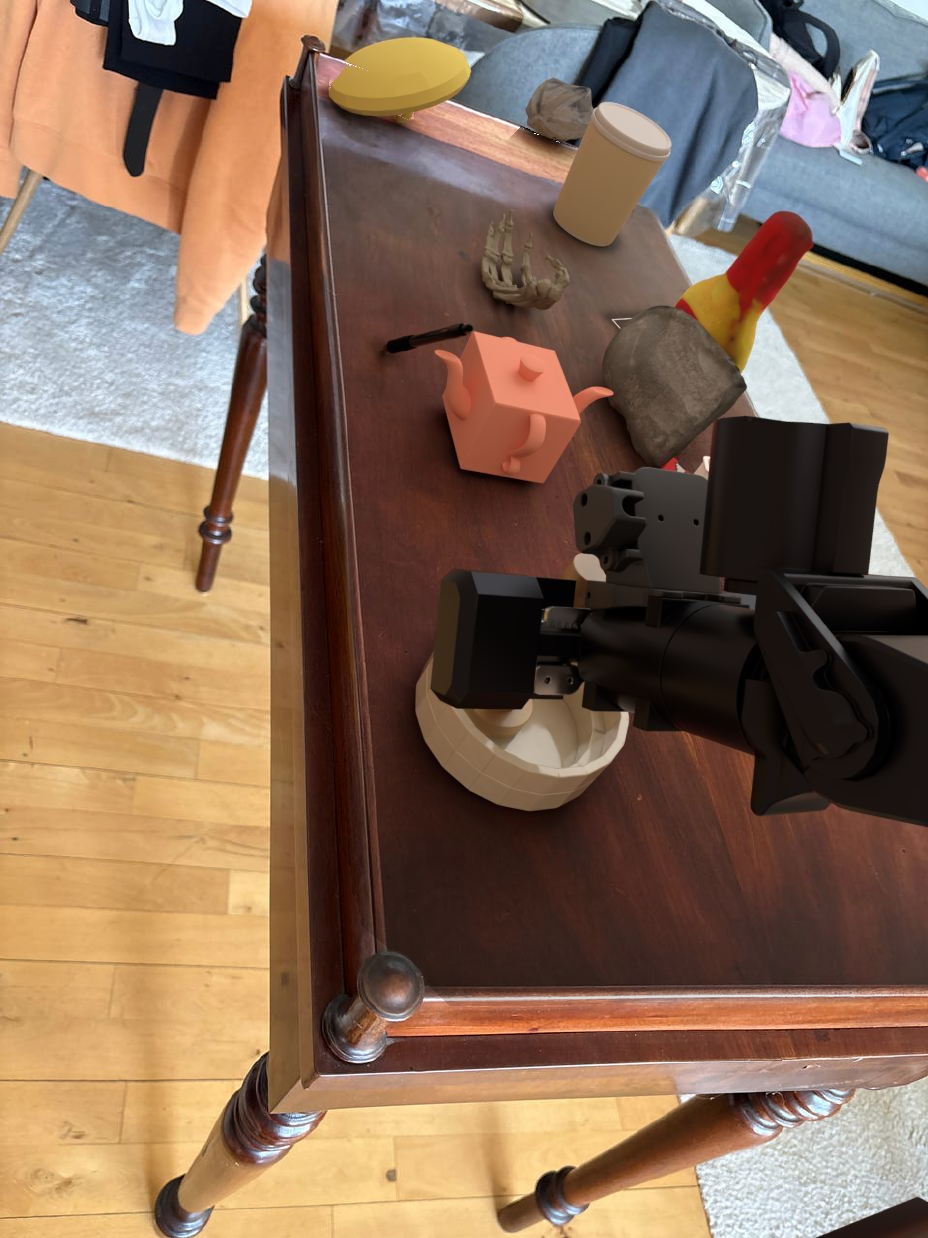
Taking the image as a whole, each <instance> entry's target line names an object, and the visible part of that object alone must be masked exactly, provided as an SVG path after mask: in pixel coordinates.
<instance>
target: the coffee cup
mask: <svg viewBox="0 0 928 1238" xmlns="http://www.w3.org/2000/svg"><path fill="white" fill-rule="evenodd" d="M593 109H594V110H593V112H592V115H591V120H590V122H589V125H588V127H587V129H586V131H585V134H584V136H583V137H581V141H580V143H579V146H578V148H577V151H576V153H575V155H574V157H573V160H572V162H571V165H570V167H569V170H568V173H567V174H566V177H565V180H564V182H563V185H562V187H561V190H560V191H559V194H558V196H557V199H556V202H555V204H554V207H553V209H552V215H553V218H554V220H555V221H556V223H557V225H559V227H560V228H562V229H563V230H564V231H565V232H567V234H569V235H570V236H572V237H573V238H576V240H579V241H580V242H583V243H585V244H589V245H591V246H595V247H609V246H610V245H611V244H612V243H613V242H614V241H615V239H616V238H617V236H618V235H619V233H620V232H621V230H622V228H623V227H624V226H625V224H626V222H627V221H628V219H629V217H630V216H631V215H632V213H633V211H634V210H635V208H636V207H637V205H638V204H639V202H640V201H641V199H642V198H643V196H644V194H645V193H646V192H647V189H648V188H649V187H650V185H651V183H653V181H654V179H655V178H656V175H657V174H658V172H659V170H661V168H662V166H663V165H664V162H665V161H667V160H668V159H669V157H670V155H671V152H672V151H671V148H672V140H671V139H670V137H669V135H668V134H667V133H666V131H665V130H664V129H662V127H660V126H659V125H658V124H657V123H656V122H654V121H653V120H652V119H651V118H649V117H647V116H646V115H644V114H642V113H640V112H639V111H637V110H635V109H633V108H631V107H628V106H627V105H623V104H620V103H617V102H612V101H604V102H601V103H599V104H598V105H597V107H595V108H593Z"/></svg>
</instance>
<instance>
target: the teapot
mask: <svg viewBox="0 0 928 1238" xmlns="http://www.w3.org/2000/svg"><path fill="white" fill-rule="evenodd" d="M434 354H435V355H436V356H437V357H438V358H439V359H441V360H442V361H443V362H444V364H445V365H446V369H447V379H446V386H445V389H444V391H443V394H442V396H441V397H442V401H443V406H444V409H445V414H446V416H447V421H448V425H449V429H450V433H451V437H452V441H453V444H454V448H455V453H456V456H457V460H458V465H459V468H460V469H461V470H466V471H472V472H477V473H482V474H487V475H488V474H489V475H493V476H499V477H505V478H511V479H516V480H522V481H527V482H533V483H539V484H545V482H546V480H547V479H548V477H549V476H550V474H551V472H552V471H553V469H554V468H555V466H556V465H557V462H558V461H559V459H560V458H561V456H562V454H563V453H564V451H565V449H566V448H567V446H568V445H569V444H570V441H572V438H573V437H574V435H575V434H576V432H577V430H578V429H579V427H580V425H581V424H582V421H581V416H580V415H581V414H582V413H583V411H585V410H586V408H588V406H590V405H591V404H592V403H594V402H595V401H597V400H599V399H602V398H606V397H607V398H608V396H611V395H613V392H612V391H611V390H609V389H607V388H606V387H603V386H591V387H588V388H585V389H582V390H581V391H579V392H578V393H576V394H575V395H572V392H571V390H570V387H569V384H568V382H567V378H566V376H565V374H564V371H563V368H562V366H561V363H560V361H559V358H558V356H557V354H556V351H555V350H552V349H549V348H544V347H540V346H536V345H532V344H529V343H525V342H520V341H518V340H516V339H515V338H513V337H510V336H503V337H499V336H495V335H492V334H486V333H483V332H479V331H476V330H473V331H472V332H471V333H470V336H469V338H468V340H467V343H466V344H465V347H464V349H463V351H462V353H461V355H460V358H459V357H458V356H457V355H456V354H454V353H452V352H449V351H447V350H443V349H436V350H434Z"/></svg>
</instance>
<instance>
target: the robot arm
mask: <svg viewBox="0 0 928 1238" xmlns="http://www.w3.org/2000/svg"><path fill="white" fill-rule="evenodd" d="M711 431H712V432H711V441H710V442H711V443H710V452H709V457H710V462H709V473H708V480H707V479H706V478H704V477H703V476H700V475H697V474H694V473H691V472H689V473H684V472H677V471H671V470H664V469H657V468H653V467H652V466H642V467H640V468H638V469H636V470H634V471H633V472H628V471H621V470H618V471H616V472H615V473H612V474H611V473H605V472H598V473H597V474H595V476H594V478H593V481H592V484H590V485H588V486H587V487H585V488H584V489H582V490H580V491H579V492H578V493H577V494H576V495H575V498H574V500H573V504H572V513H573V524H574V525H573V527H574V537H575V545H576V548H577V550H578V551H579V552H580V553H582V554H591V555H594V556H596V557H597V558H598V559H599V563H600V567H601V569H602V570H603V571H604V573H605V575H606V582H604V581H594V580H587V587H586V596H585V607H586V608H574V599H575V590H576V580H569V579H560V578H558V577H557V578H555V577H546V576H545V577H544V576H533V575H528V574H519V573H511V572H500V571H490V570H478V569H467V568H466V569H465V568H454V567H453V568H452V569H451V570H450V571H448V573H447V574H445V575H444V576H443V577H442V578H441V579H440V584H439V585H440V587H439V597H438V606H437V616H436V628H435V636H434V646H433V651H434V656H433V666H432V676H431V686H430V689H431V690H432V691H433V693H434V694H435V695H436V696H437V698H438V699H439V700H440V701H442V702H444V703H446V704H448V705H450V706H452V707H454V708H456V709H509V710H522V708H523V707H524V706H525V704H526V703H527V702H528V700H529V699H554V700H563V697H564V695H572V694H574V693H576V692H577V691H578V690H579V688H580V686H581V685H582V683H583V682H584V690H583V699H582V707H583V708H585V709H588V710H591V711H600V712H628V713H630V714H633V719H632V727H634V728H637V729H639V730H642V731H644V732H685V733H687V734H690V735H694V736H697V737H699V738H702V739H705V740H708V741H710V742H713V743H716V744H719V745H721V746H724V747H727V748H730V749H733V750H737V751H739V752H742V753H745V754H747V755H750V756H753V757H754V759H753V762H754V764H753V772H752V781H751V793H750V801H749V802H750V804H749V805H750V810H751V812H752V813H753V814H754V815H755V816H757V817H770V816H781V815H782V816H783V815H793V814H802V813H803V814H804V813H813V812H814V813H815V812H822V811H823V812H824V811H825V810H827V809H828V808H829V807H830V806H831V804H832V805H834V806H836V807H837V808H840V809H842V810H845V811H849V812H853V813H858V814H863V815H866V816H872V817H877V818H882V819H885V820H891V821H896V822H900V823H904V824H909V825H914V826H918V827H923V828H928V588H927V587H926V586H925V585H924V584H923V583H922V581H920V580H919V579H918V578H917V577H915V576H903V575H902V576H901V575H885V574H883V575H882V574H872V573H870V563H871V556H872V545H873V538H874V537H873V536H874V527H875V519H876V511H877V502H878V493H879V487H880V482H881V479H882V476H883V473H884V470H885V468H886V463H887V461H886V460H887V453H888V445H889V435H890V433H889V432H888V429H887V428H885V427H882V426H875V425H869V424H861V423H856V422H849V421H848V422H835V423H834V422H833V423H822V422H808V421H806V422H805V421H788V420H780V419H773V418H767V417H760V416H754V415H753V416H752V415H741V416H740V415H737V416H728V417H719V418H718V419H717V420H715V421H714V422H713V423H712V429H711ZM721 578H724V581H723V590H721ZM571 663H577V666H576V665H573V664H571ZM815 1238H928V1201H927V1200H926V1199H923V1198H922V1197H920V1196H915V1197H912V1198H910V1199H908V1200H905V1201H903V1202H900V1203H898V1204H896V1205H893V1206H890V1207H888V1208H885V1209H883V1210H881V1211H878V1212H875V1213H873V1214H870V1215H868V1216H866V1217H863V1218H860V1219H857V1220H855V1221H853V1222H850V1223H848V1224H846V1225H843V1226H841V1227H838V1228H835V1229H833V1230H830V1231H828V1232H825V1233H823V1234H821V1235H818V1236H815Z"/></svg>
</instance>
